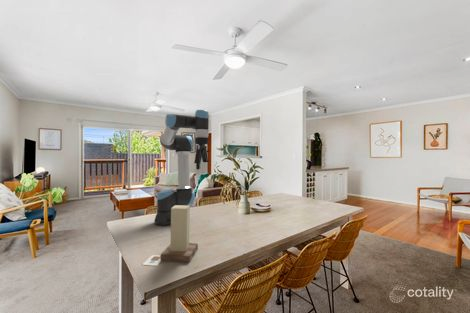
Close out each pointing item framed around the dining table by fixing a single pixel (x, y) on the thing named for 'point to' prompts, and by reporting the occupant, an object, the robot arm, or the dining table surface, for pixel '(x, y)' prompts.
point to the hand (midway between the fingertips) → (201, 174)
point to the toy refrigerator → (180, 228)
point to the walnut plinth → (179, 254)
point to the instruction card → (152, 260)
